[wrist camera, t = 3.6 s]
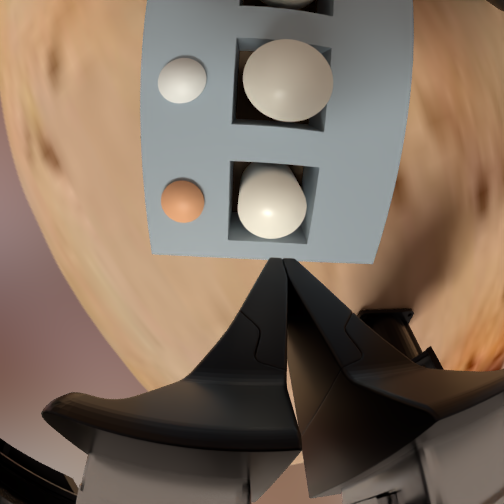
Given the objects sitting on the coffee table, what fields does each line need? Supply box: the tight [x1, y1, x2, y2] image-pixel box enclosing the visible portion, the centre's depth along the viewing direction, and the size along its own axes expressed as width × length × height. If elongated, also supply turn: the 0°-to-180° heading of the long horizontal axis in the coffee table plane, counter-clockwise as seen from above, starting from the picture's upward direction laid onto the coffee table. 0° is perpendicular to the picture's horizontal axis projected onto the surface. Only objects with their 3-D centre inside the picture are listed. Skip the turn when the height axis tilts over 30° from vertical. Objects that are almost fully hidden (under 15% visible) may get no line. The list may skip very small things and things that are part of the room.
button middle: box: [243, 39, 333, 122], centre depth 11 cm, size 4×4×4 cm
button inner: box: [238, 162, 307, 239], centre depth 16 cm, size 4×4×4 cm
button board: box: [140, 0, 414, 264], centre depth 13 cm, size 14×20×4 cm
